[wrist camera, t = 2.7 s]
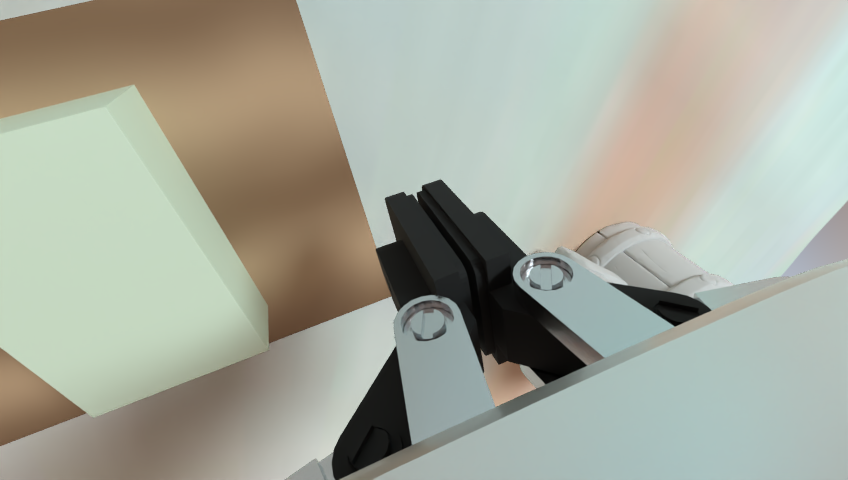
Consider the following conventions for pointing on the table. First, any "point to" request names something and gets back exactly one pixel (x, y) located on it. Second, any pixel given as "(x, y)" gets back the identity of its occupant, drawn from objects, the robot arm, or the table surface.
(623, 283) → the mug
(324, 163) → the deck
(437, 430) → the robot arm
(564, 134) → the table surface
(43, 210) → the tile
